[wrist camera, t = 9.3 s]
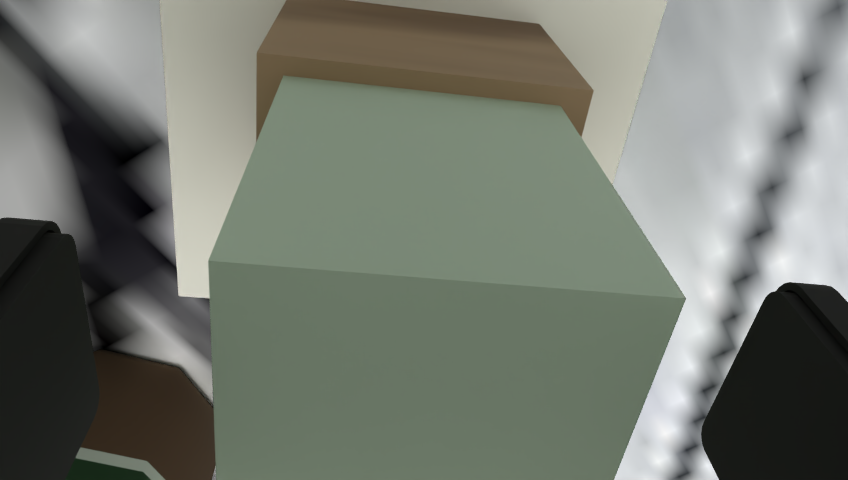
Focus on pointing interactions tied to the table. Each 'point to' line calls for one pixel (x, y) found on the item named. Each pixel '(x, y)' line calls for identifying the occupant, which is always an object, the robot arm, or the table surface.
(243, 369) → the sage block
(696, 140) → the table surface
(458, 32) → the walnut block
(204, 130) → the base slab
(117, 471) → the beer bottle
